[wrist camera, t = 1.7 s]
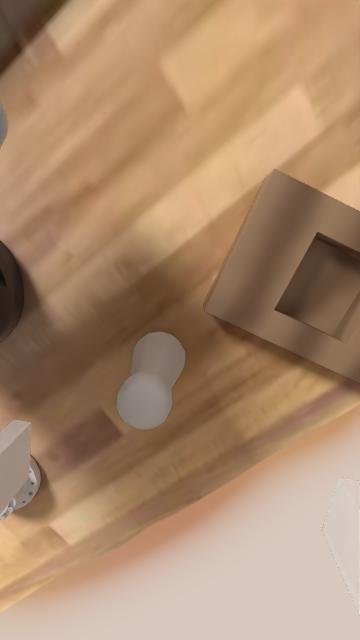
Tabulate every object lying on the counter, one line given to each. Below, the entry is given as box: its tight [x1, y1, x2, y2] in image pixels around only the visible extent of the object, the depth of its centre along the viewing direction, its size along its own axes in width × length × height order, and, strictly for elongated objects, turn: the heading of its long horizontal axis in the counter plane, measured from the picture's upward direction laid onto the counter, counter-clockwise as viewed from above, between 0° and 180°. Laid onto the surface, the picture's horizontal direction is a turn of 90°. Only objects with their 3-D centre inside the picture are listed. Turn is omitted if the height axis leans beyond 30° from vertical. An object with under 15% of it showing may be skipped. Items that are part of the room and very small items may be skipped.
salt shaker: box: [116, 331, 186, 430], centre depth 27 cm, size 6×6×13 cm
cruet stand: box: [203, 169, 360, 383], centre depth 29 cm, size 20×14×4 cm
